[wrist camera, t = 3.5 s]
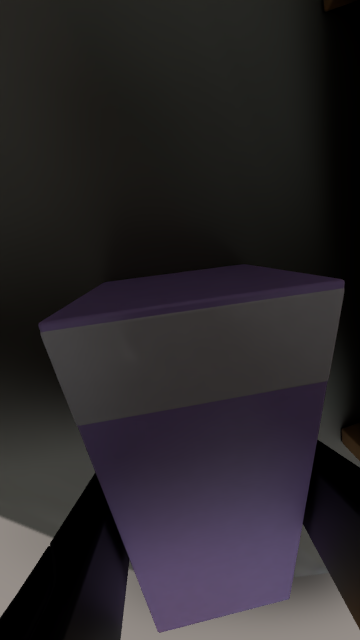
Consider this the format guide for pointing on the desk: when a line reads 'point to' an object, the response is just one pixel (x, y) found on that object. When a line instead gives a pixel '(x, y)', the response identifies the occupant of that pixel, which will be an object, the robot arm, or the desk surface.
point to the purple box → (202, 424)
